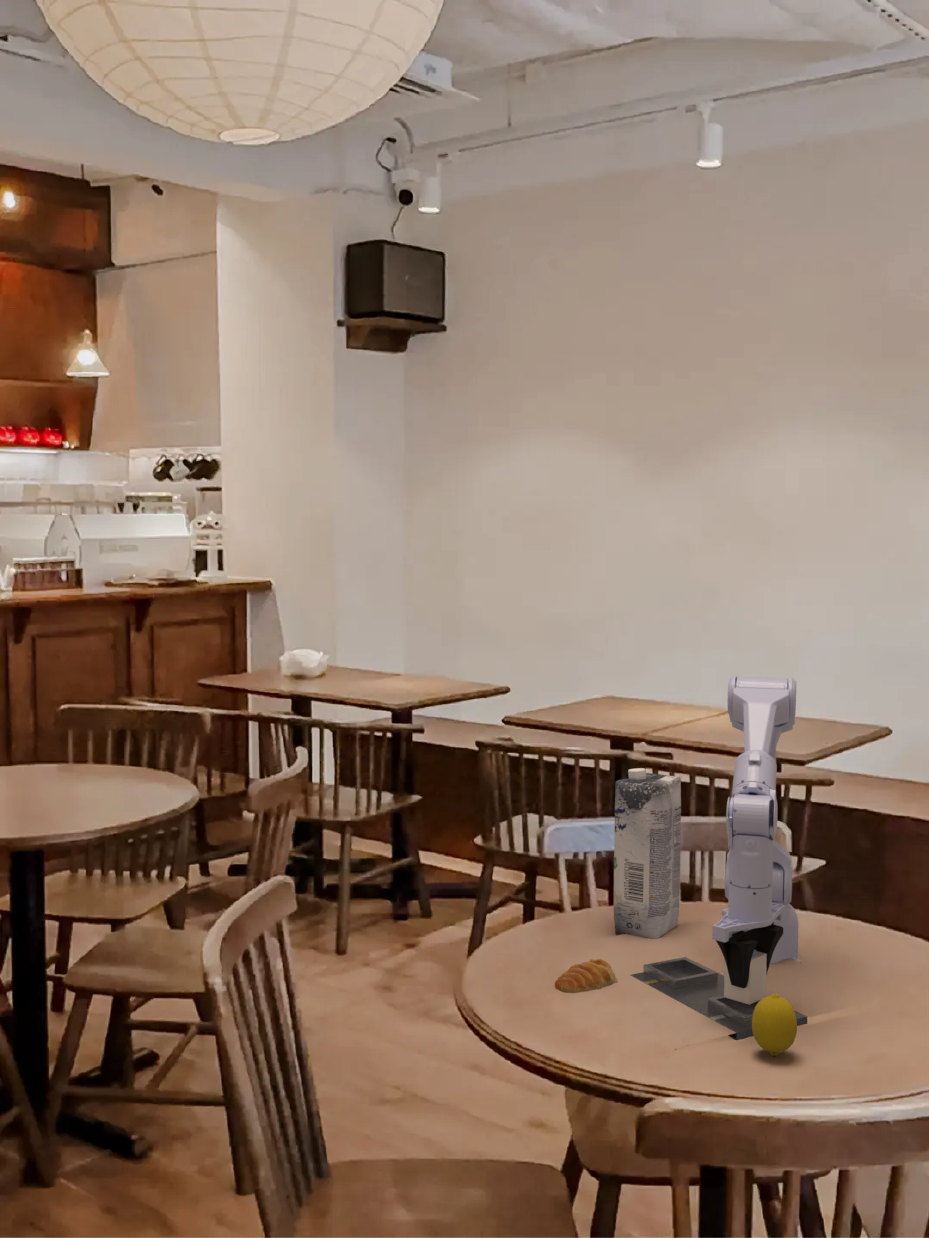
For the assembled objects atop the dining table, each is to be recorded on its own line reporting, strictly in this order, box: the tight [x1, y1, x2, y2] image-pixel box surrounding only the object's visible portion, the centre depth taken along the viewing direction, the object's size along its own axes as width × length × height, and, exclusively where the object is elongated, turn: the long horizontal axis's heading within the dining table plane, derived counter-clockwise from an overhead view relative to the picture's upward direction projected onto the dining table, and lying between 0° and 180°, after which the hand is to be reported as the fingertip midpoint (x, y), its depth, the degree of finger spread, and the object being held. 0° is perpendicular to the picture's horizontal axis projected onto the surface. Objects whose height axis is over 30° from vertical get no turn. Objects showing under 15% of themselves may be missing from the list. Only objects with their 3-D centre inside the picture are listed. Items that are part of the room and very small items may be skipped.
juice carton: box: [613, 767, 682, 940], centre depth 210 cm, size 9×10×27 cm
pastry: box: [554, 958, 619, 994], centre depth 186 cm, size 9×7×4 cm
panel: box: [630, 956, 808, 1041], centre depth 181 cm, size 12×24×2 cm, turn 28°
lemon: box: [752, 992, 798, 1057], centre depth 163 cm, size 6×6×8 cm
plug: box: [723, 949, 767, 1005], centre depth 175 cm, size 4×4×7 cm
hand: (748, 981), depth 175 cm, fingers closed on plug, 4 cm apart
